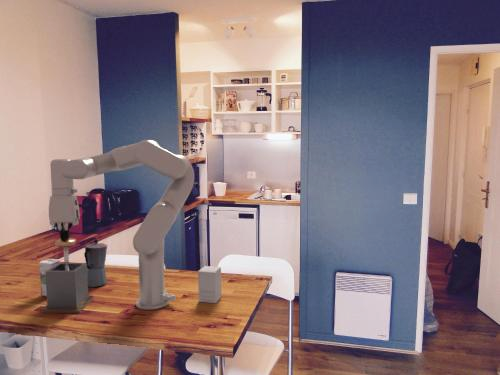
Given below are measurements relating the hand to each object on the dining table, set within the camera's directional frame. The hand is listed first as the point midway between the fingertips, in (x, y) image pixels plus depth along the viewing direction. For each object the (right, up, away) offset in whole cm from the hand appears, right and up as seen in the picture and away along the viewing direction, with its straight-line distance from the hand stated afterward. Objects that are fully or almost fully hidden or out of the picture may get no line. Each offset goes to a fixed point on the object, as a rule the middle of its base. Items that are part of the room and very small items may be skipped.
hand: (65, 240), depth 160 cm
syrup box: (-12, -25, +14) cm, 31 cm away
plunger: (0, -14, +2) cm, 14 cm away
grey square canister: (0, -26, +3) cm, 26 cm away
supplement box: (+54, -25, +9) cm, 60 cm away
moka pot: (+2, -23, +26) cm, 35 cm away
